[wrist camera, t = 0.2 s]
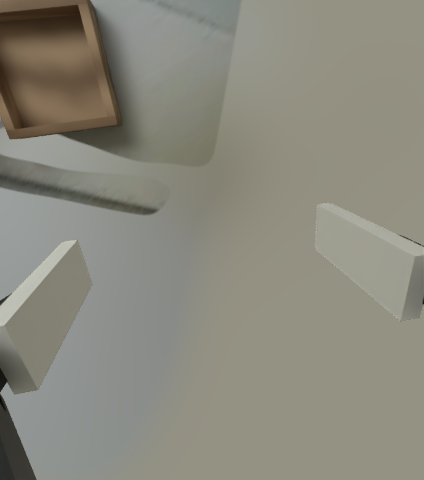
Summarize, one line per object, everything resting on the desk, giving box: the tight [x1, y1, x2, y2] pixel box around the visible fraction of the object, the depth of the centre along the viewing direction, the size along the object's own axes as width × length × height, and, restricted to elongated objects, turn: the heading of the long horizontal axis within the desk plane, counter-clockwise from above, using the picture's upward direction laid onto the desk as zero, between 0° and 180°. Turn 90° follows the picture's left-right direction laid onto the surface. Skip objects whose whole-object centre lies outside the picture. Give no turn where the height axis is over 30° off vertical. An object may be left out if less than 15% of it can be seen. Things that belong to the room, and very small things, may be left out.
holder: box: [0, 0, 122, 139], centre depth 32 cm, size 13×13×4 cm
